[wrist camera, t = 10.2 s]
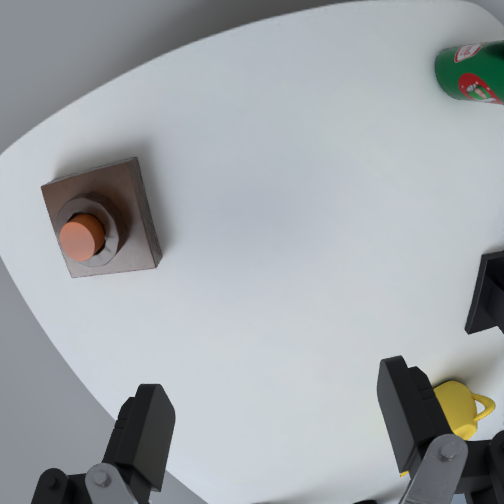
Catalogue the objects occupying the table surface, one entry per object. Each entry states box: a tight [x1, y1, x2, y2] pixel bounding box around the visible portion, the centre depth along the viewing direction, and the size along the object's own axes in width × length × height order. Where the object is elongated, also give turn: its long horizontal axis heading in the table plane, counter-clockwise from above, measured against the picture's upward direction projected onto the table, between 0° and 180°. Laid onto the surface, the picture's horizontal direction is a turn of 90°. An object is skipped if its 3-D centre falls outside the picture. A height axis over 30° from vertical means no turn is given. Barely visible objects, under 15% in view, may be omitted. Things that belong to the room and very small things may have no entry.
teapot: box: [400, 381, 495, 477], centre depth 37 cm, size 14×13×10 cm
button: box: [60, 213, 105, 261], centre depth 25 cm, size 4×4×2 cm
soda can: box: [435, 40, 504, 105], centre depth 16 cm, size 5×5×12 cm
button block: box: [41, 157, 162, 278], centre depth 27 cm, size 10×10×4 cm
